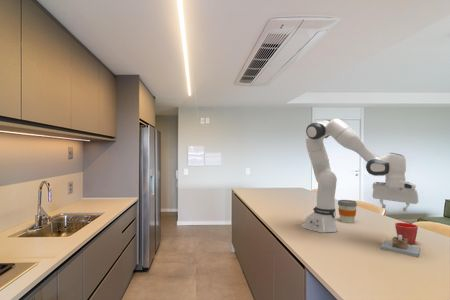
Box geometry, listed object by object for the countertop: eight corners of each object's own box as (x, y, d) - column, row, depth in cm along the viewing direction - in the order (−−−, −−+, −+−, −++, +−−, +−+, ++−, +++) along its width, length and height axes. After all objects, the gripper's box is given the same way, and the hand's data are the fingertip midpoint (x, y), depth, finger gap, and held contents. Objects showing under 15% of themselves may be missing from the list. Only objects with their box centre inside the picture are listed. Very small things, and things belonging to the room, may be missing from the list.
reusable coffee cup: (360, 224, 183) (360, 203, 183) (342, 223, 183) (342, 202, 183) (351, 219, 195) (351, 199, 196) (335, 219, 196) (335, 199, 196)
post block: (380, 248, 135) (380, 234, 135) (384, 243, 144) (384, 229, 144) (418, 257, 124) (418, 241, 124) (420, 250, 133) (420, 235, 134)
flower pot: (390, 239, 149) (390, 223, 150) (403, 237, 153) (403, 221, 153) (409, 246, 139) (409, 228, 140) (422, 243, 143) (422, 226, 143)
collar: (392, 246, 134) (392, 239, 134) (394, 243, 138) (394, 236, 138) (406, 249, 130) (406, 241, 130) (407, 246, 134) (407, 239, 134)
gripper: (371, 181, 141) (370, 207, 140) (418, 186, 127) (417, 214, 127) (373, 181, 145) (372, 205, 145) (419, 185, 132) (418, 212, 132)
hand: (393, 209), depth 136 cm, fingers open, 8 cm apart
